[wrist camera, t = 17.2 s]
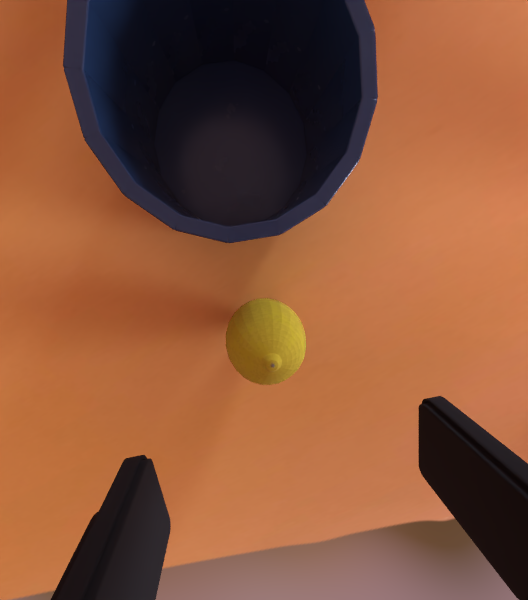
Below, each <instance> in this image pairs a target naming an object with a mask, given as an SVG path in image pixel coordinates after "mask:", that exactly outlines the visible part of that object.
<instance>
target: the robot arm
mask: <svg viewBox="0 0 528 600" xmlns="http://www.w3.org/2000/svg"><path fill="white" fill-rule="evenodd" d="M419 469H420V471H421V474H422V475H423V477H424V478H425V480H426V481H427V482H428V484H429V485H430V486H431V487H432V489H433V490H434V491H435V493H436V494H437V495H438V497H439V498H440V499H441V500H442V502H443V503H444V504H445V506H446V507H447V508H448V509H449V511H450V512H451V513H452V515H453V516H454V517H455V519H456V520H457V521H458V522H459V524H460V525H461V526H462V528H463V529H464V530H465V532H466V533H467V534H468V535H469V537H470V538H471V539H472V541H473V542H474V543H475V544H476V546H477V547H478V548H479V550H480V551H481V552H482V553H483V555H484V556H485V557H486V559H487V560H488V561H489V563H490V564H491V565H492V566H493V568H494V569H495V570H496V572H497V573H498V574H499V575H500V577H501V578H502V579H503V581H504V582H505V583H506V584H507V586H508V587H509V588H510V590H511V591H512V592H513V593H514V595H515V596H516V597H517V598H518V599H519V600H528V464H527V463H526V462H525V461H524V460H522V459H521V458H520V457H519V456H517V455H516V454H515V453H513V452H512V451H511V450H510V449H508V448H507V447H506V446H505V445H503V444H502V443H501V442H500V441H498V440H497V439H496V438H494V437H493V436H492V435H491V434H489V433H488V432H487V431H486V430H484V429H483V428H482V427H480V426H479V425H478V424H477V423H475V422H474V421H473V420H472V419H470V418H469V417H468V416H467V415H465V414H464V413H463V412H461V411H460V410H459V409H458V408H456V407H455V406H454V405H453V404H451V403H450V402H449V401H447V400H446V399H445V398H443V397H441V396H437V397H432V398H427V399H424V400H423V401H422V404H421V405H419ZM169 534H170V517H169V514H168V511H167V508H166V504H165V501H164V498H163V494H162V491H161V488H160V485H159V481H158V478H157V475H156V472H155V468H154V465H153V462H152V460H151V459H147V458H146V456H145V455H140V456H135V457H130V458H126V459H125V460H124V461H123V463H122V465H121V467H120V469H119V471H118V473H117V475H116V477H115V480H114V482H113V484H112V486H111V488H110V490H109V492H108V494H107V496H106V498H105V500H104V502H103V504H102V506H101V508H100V510H99V512H97V513H96V514H95V515H94V516H93V517H92V519H91V521H90V522H89V524H88V526H87V528H86V530H85V532H84V534H83V536H82V538H81V540H80V542H79V544H78V546H77V548H76V550H75V552H74V554H73V556H72V558H71V560H70V562H69V564H68V566H67V568H66V570H65V572H64V574H63V576H62V578H61V580H60V582H59V584H58V586H57V588H56V590H55V592H54V594H53V596H52V598H51V600H155V599H156V594H157V590H158V585H159V581H160V575H161V571H162V567H163V562H164V557H165V553H166V548H167V544H168V539H169Z"/></svg>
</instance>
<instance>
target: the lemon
mask: <svg viewBox="0 0 528 600" xmlns="http://www.w3.org/2000/svg"><path fill="white" fill-rule="evenodd" d="M226 348H227V352H228V356H229V359H230V361H231V362H232V364H233V366H234V367H235V369H236V370H237V371H238V372H239V373H240V374H241V375H242V376H243V377H244V378H246V379H248V380H249V381H251V382H254V383H257V384H262V385H272V384H277V383H280V382H282V381H285V380H286V379H288V378H289V377H291V376H292V375H293V374H294V373H295V372H296V371H297V370H298V368H299V367H300V365H301V363H302V361H303V359H304V355H305V350H306V338H305V332H304V329H303V326H302V323H301V321H300V319H299V318H298V317H297V315H296V314H295V312H294V311H293V310H291V309H290V308H289V307H288V306H287V305H285V304H283V303H281V302H279V301H277V300H273V299H268V298H265V299H256V300H252V301H249V302H248V303H246V304H244V305H243V306H241V307H240V308H239V309H238V310H237V311H236V312H235V313H234V315H233V316H232V318H231V320H230V321H229V324H228V328H227V331H226Z"/></svg>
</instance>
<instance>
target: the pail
mask: <svg viewBox="0 0 528 600" xmlns="http://www.w3.org/2000/svg"><path fill="white" fill-rule="evenodd" d="M374 30H375V28H374V25H373V22H372V20H371V17H370V14H369V12H368V9H367V6H366V4H365V1H364V0H67V13H66V28H65V44H64V59H63V67H64V72H65V75H66V79H67V82H68V85H69V89H70V92H71V96H72V99H73V102H74V106H75V109H76V113H77V116H78V119H79V123H80V126H81V130H82V133H83V137H84V138H85V141H86V143H87V144H88V146H89V147H90V148H91V150H92V151H93V153H94V154H95V155H96V157H97V158H98V160H99V161H100V162H101V164H102V165H103V167H104V168H105V169H106V171H107V172H108V174H109V175H110V176H111V178H112V179H113V181H114V182H115V183H116V185H117V186H118V188H119V189H120V191H121V192H122V193H123V194H124V195H125V196H126V197H127V198H129V199H130V200H131V201H133V202H134V203H136V204H137V205H139V206H140V207H142V208H143V209H144V210H146V211H147V212H149V213H150V214H152V215H153V216H154V217H156V218H157V219H159V220H160V221H162V222H163V223H165V224H166V225H167V226H169V227H170V228H172V229H174V230H176V231H180V232H184V233H188V234H192V235H196V236H200V237H204V238H209V239H213V240H217V241H221V242H225V243H233V242H240V241H246V240H252V239H258V238H264V237H271V236H277V235H280V234H283V233H284V232H286V231H287V230H289V229H291V228H292V227H294V226H295V225H297V224H299V223H300V222H302V221H303V220H305V219H307V218H308V217H310V216H311V215H313V214H315V213H316V212H318V211H319V210H321V209H323V208H324V207H325V206H326V205H327V204H328V203H329V202H330V200H331V199H332V197H333V196H334V195H335V193H336V192H337V191H338V189H339V188H340V187H341V185H342V184H343V183H344V181H345V180H346V178H347V177H348V176H349V174H350V173H351V172H352V170H353V169H354V168H355V166H356V165H357V163H358V162H359V159H360V157H361V154H362V151H363V147H364V144H365V140H366V137H367V134H368V130H369V127H370V124H371V120H372V117H373V114H374V110H375V107H376V103H377V97H378V94H377V66H376V38H375V31H374Z"/></svg>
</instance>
